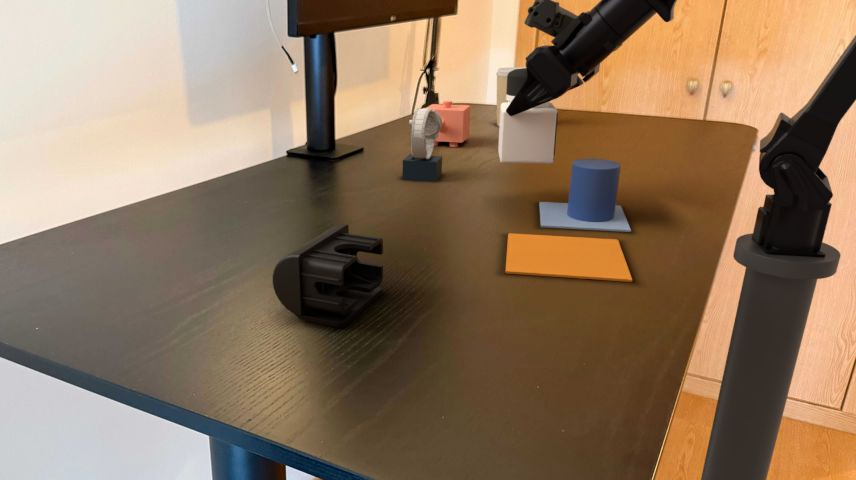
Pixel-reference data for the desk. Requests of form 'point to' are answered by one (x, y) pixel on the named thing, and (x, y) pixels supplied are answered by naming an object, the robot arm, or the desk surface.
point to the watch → (423, 147)
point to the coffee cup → (502, 87)
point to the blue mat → (558, 218)
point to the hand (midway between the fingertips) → (517, 108)
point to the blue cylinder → (593, 190)
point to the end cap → (329, 277)
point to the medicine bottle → (526, 128)
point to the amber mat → (566, 257)
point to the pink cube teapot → (452, 122)
